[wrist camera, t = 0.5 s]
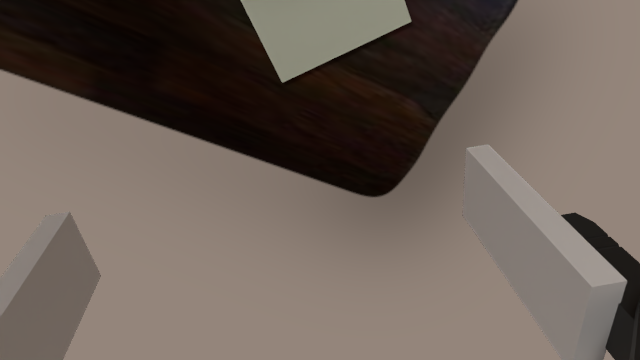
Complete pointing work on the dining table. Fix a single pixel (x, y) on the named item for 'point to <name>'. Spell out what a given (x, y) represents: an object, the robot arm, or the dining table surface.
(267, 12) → the sage mat
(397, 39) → the dining table surface
